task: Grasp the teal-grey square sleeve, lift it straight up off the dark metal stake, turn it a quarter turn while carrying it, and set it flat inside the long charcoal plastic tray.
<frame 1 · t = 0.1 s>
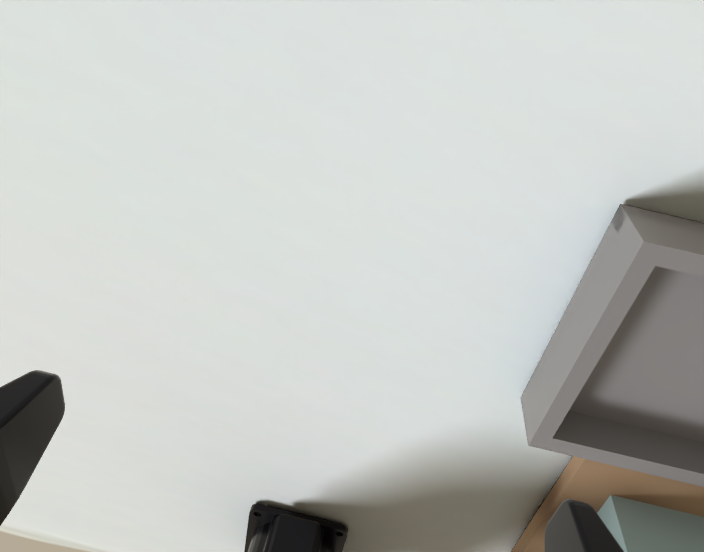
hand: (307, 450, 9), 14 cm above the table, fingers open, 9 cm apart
stake: (636, 525, 31), on the table
sleeve: (641, 541, 30), point 1 cm above the table, touching stake
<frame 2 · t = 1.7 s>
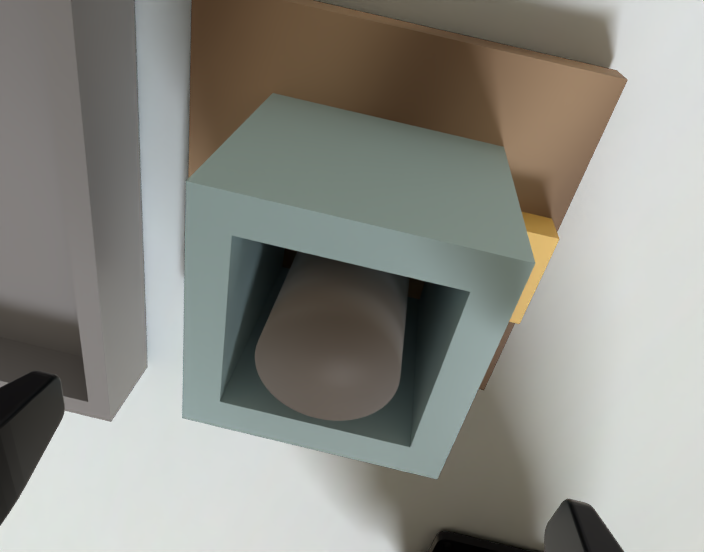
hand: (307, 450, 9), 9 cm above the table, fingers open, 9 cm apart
stake: (368, 207, 17), on the table
sleeve: (364, 222, 16), point 1 cm above the table, touching stake
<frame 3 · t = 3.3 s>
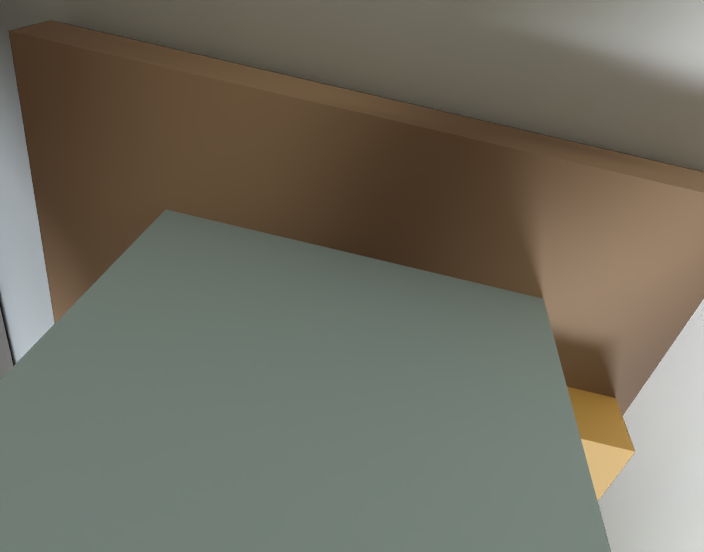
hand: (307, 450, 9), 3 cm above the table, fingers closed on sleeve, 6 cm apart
stake: (332, 355, 12), on the table
sleeve: (323, 388, 11), point 1 cm above the table, touching gripper, stake
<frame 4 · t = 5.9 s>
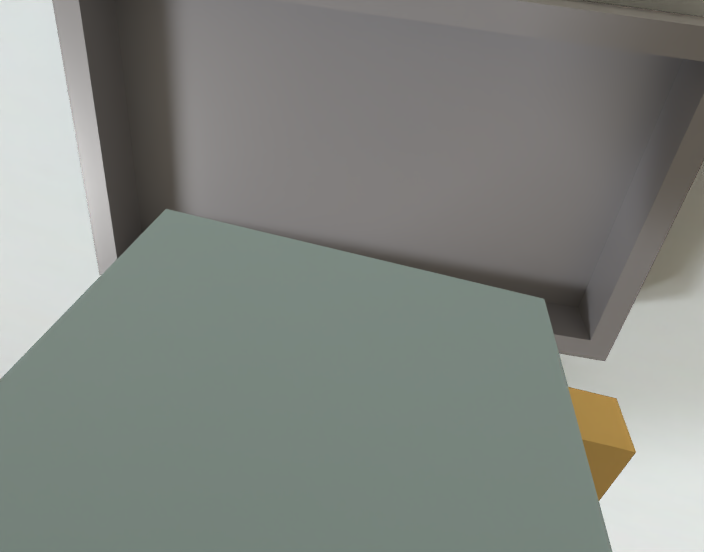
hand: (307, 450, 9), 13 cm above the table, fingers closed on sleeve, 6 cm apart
sleeve: (323, 388, 11), point 11 cm above the table, touching gripper
tray: (374, 147, 20), on the table
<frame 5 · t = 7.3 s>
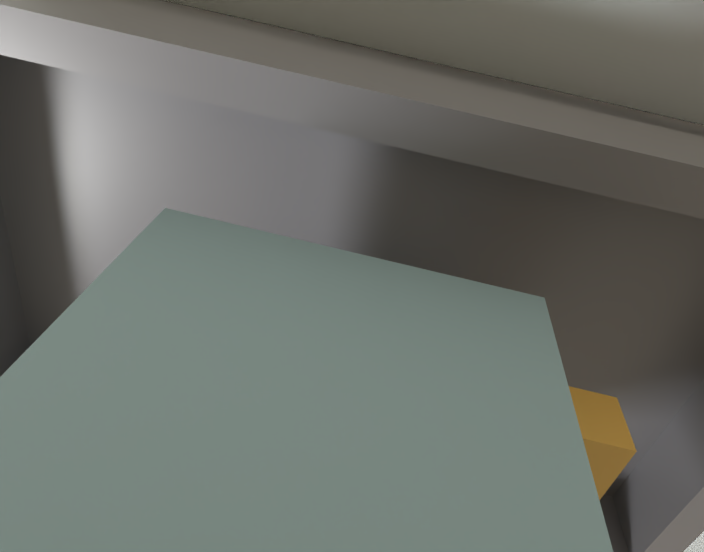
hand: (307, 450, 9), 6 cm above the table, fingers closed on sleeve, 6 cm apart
sleeve: (323, 388, 11), point 4 cm above the table, touching gripper
tray: (354, 276, 14), on the table
when the fingers open (4 cm above the table, at t = 8.6 s): sleeve drops 1 cm, resting on tray.
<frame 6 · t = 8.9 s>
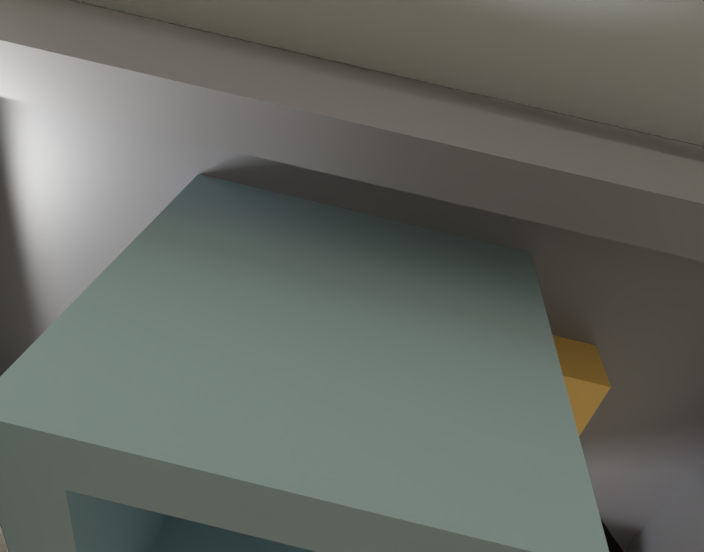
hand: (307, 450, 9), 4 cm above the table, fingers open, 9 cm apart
sleeve: (335, 340, 12), point 1 cm above the table, touching tray
tray: (343, 313, 13), on the table
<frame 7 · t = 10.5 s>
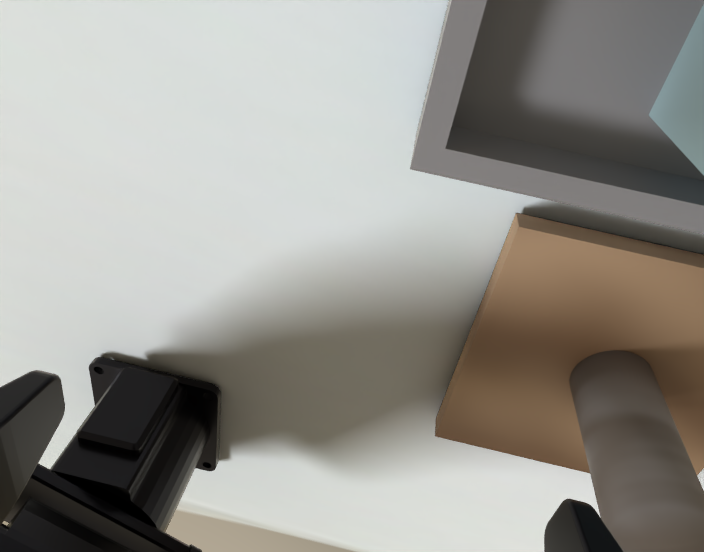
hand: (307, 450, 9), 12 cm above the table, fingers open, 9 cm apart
stake: (604, 362, 22), on the table
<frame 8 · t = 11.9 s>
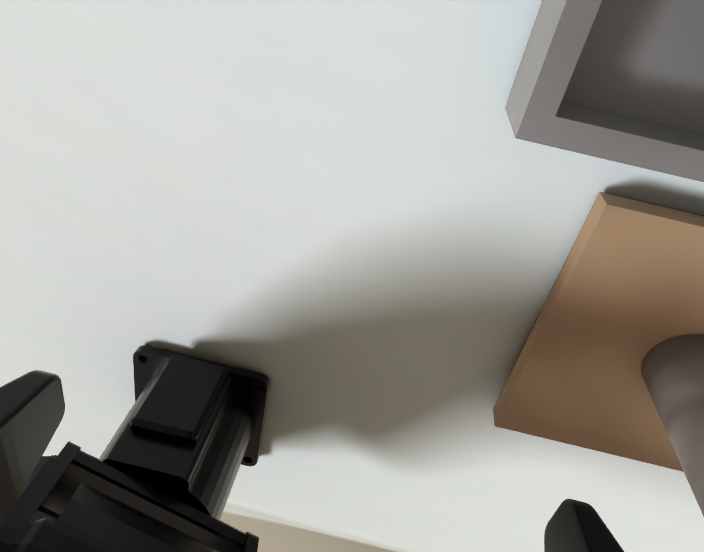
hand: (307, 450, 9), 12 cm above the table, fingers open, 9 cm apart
stake: (674, 348, 22), on the table
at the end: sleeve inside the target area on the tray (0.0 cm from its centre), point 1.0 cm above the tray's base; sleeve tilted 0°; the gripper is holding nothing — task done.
